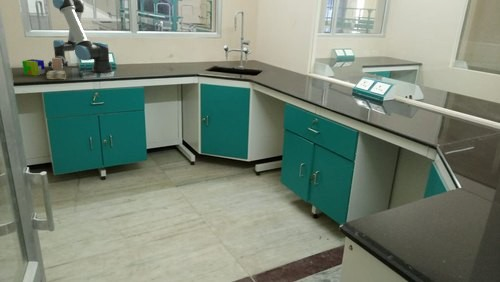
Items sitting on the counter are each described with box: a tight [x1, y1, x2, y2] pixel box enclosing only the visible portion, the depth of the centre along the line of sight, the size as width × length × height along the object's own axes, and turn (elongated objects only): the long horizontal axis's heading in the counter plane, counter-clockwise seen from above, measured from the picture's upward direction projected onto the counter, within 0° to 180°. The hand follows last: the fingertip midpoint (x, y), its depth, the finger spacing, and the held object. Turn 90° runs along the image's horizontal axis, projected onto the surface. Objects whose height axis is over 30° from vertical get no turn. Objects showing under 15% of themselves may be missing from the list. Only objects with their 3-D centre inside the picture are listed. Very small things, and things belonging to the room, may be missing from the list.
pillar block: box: [51, 57, 64, 71], centre depth 290 cm, size 6×6×12 cm
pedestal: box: [45, 70, 67, 80], centre depth 278 cm, size 12×12×5 cm
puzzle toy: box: [21, 59, 46, 76], centre depth 286 cm, size 10×10×10 cm
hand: (57, 66), depth 285 cm, fingers closed on pillar block, 6 cm apart
